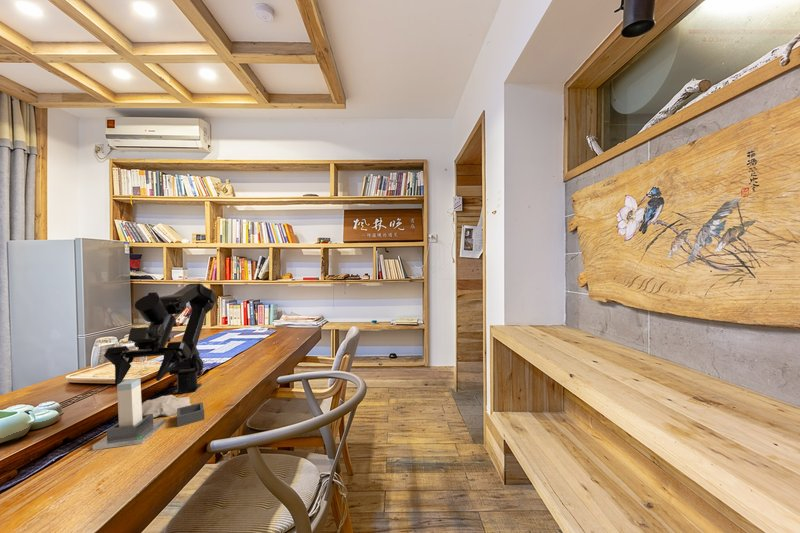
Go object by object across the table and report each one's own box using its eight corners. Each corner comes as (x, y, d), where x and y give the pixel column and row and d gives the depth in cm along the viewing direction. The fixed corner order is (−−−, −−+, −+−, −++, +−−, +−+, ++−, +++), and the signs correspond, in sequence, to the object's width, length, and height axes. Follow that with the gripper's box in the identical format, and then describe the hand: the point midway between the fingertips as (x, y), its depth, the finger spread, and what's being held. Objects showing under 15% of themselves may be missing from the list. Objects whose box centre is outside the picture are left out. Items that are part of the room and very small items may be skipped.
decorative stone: (124, 423, 86) (180, 424, 86) (123, 410, 85) (179, 411, 86) (152, 400, 96) (202, 402, 97) (152, 389, 96) (202, 390, 97)
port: (122, 428, 82) (121, 415, 82) (165, 422, 83) (164, 409, 83) (92, 450, 72) (91, 435, 72) (142, 443, 74) (141, 428, 74)
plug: (129, 428, 79) (126, 379, 79) (142, 427, 80) (140, 378, 80) (119, 436, 76) (117, 384, 76) (133, 434, 76) (131, 383, 76)
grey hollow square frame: (177, 417, 86) (177, 408, 86) (202, 410, 90) (202, 402, 90) (177, 426, 81) (176, 417, 81) (204, 419, 84) (204, 410, 84)
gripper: (107, 317, 84) (75, 371, 73) (184, 312, 88) (164, 363, 77) (127, 340, 92) (101, 392, 81) (197, 334, 95) (181, 383, 85)
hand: (137, 382), depth 81 cm, fingers open, 9 cm apart
